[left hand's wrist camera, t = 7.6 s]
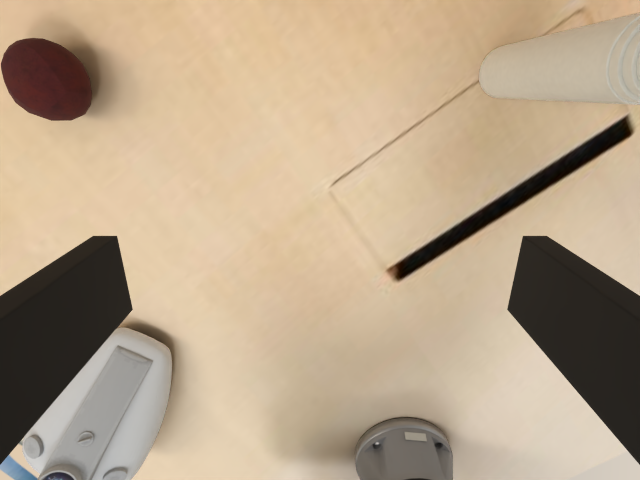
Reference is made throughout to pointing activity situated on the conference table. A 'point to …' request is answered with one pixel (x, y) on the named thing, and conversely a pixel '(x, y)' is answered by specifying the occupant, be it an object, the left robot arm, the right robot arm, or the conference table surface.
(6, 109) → the conference table surface
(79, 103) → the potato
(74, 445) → the projector
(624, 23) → the bottle
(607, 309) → the left robot arm
